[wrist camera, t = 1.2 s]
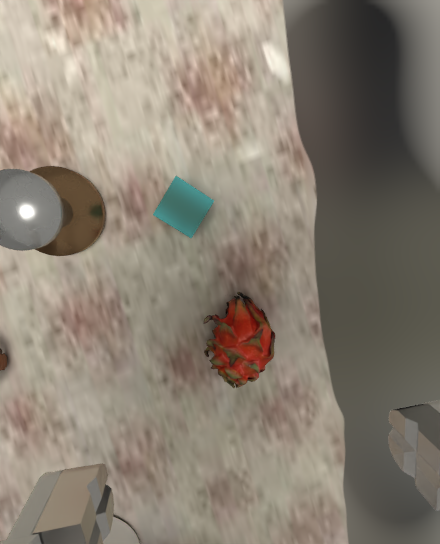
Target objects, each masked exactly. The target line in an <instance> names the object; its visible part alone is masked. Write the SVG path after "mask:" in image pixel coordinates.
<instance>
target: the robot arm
mask: <svg viewBox="0 0 440 544" xmlns="http://www.w3.org/2000/svg"><path fill="white" fill-rule="evenodd" d="M389 422H390V424H391V425H392V426H393V429H392V430H391V432H390V434H389V435H388V436H389V447H390V450H391V453H392V456H393V458H394V459H395V461H396V463H397V464H398V466H399V467H400V468H401V469H402V470H403V472H405V473H407V474H408V475H410V476H412V477H414V478H415V483H416V488H417V489H418V490H419V491H420V492H421V494H422V495H423V496H424V497H425V498H426V500H427V501H428V502H429V503H430V504H431V506H432V507H433V508H434V509H435V510H436V511H439V510H440V400H437V401H432V402H427V403H424V404H418V405H413V406H408V407H403V408H398V409H393V410H391V412H390V414H389ZM107 477H108V473H107V469H106V466H105V464H96V465H90V466H83V467H77V468H71V469H65V470H62V471H55V472H48V473H45V474H43V475H42V476H41V477H40V478H39V480H38V482H37V484H36V485H35V487H34V489H33V491H32V493H31V495H30V497H29V499H28V500H27V502H26V504H25V506H24V508H23V510H22V512H21V513H20V515H19V517H18V519H17V521H16V523H15V525H14V526H13V528H12V530H11V532H10V534H9V536H8V538H7V539H6V540H4V541H0V544H140V543H139V540H138V537H137V535H136V534H135V532H134V531H133V530H132V528H131V527H130V526H129V525H127V524H126V523H125V522H123V521H122V520H120V519H118V518H115V517H113V511H114V501H113V493H112V489H111V488H110V487H109V486H108V485H106V481H107Z"/></svg>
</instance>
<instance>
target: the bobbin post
mask: <svg viewBox="0 0 440 544" xmlns="http://www.w3.org/2000/svg"><path fill="white" fill-rule="evenodd" d="M104 224H105V207H104V203H103V200H102V197H101V196H100V194H99V192H98V190H97V189H96V188H95V186H94V185H93V184H92V183H91V182H90V181H89V180H88V179H86V178H85V177H83V176H82V175H80V174H78V173H76V172H74V171H71V170H68V169H66V168H62V167H55V166H46V167H40V168H37V169H34V170H32V171H30V172H28V171H24V170H20V169H5V170H1V171H0V245H1V246H3V247H6V248H9V249H13V250H32V249H35V250H37V251H39V252H42V253H45V254H48V255H54V256H66V255H71V254H75V253H78V252H81V251H83V250H85V249H87V248H88V247H90V246H91V245H92V244H93V243H94V242H95V241H96V240H97V239H98V238H99V236H100V235H101V232H102V230H103V227H104Z"/></svg>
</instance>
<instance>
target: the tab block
mask: <svg viewBox="0 0 440 544" xmlns="http://www.w3.org/2000/svg"><path fill="white" fill-rule="evenodd" d="M213 202H214V200H212V199H211V198H209V197H208V196H206V195H205V194H203V193H202V192H200V191H199V190H197V189H196V188H194V187H192V186H191V185H189V184H188V183H186V182H185V181H183V180H182V179H180V178H179V177H177V176H176V177H175V178H174V180H173V182H172V183H171V185H170V187H169V188H168V190H167V192H166V193H165V195H164V197H163V199H162V200H161V202H160V204H159V205H158V207H157V209H156V210H155V212H154V214H153V215H154V216H156V217H157V218H159V219H161V220H162V221H164V222H165V223H167V224H169V225H170V226H172V227H174V228H175V229H177V230H178V231H180V232H182V233H183V234H185V235H187V236H188V237H190V238H192V237H193V235H194V233H195V232H196V230H197V228H198V227H199V225H200V223H201V222H202V220H203V219H204V217H205V215H206V214H207V212H208V210H209V209H210V207H211V205H212V204H213Z"/></svg>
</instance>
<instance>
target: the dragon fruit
mask: <svg viewBox="0 0 440 544" xmlns="http://www.w3.org/2000/svg"><path fill="white" fill-rule="evenodd" d="M237 294H238V295H240V296H241V297H242V298H243V300H244V302H245V304H243V302H242V301H241V300H240V297H239V296H237V295H236V296H234V297H235V298H236V299H232V300H231V301H229V302H227V306H228V307H227V309H226V314H227V312H228V315H227V317H226V318H224V319H220V318H219V317H218V316H217V315H215V316H214V315H212V316H211V315H209V316H207V317H206V318H205V319H204V324H205V323H207V322H208V321H209V320H214V322H215V323H216V324H217V325H218V327H216V328H215V329H214V330H212V332H213V334H214V337H215V338H216V339H210V340H207V343H206V344H207V346H208V347H207V348H206V350H205V351H204V353H205V355H206V356H207V357H209V355H208V351H209V350H210V351H212V352H213V353H214V355H215V356H214V357H213V358H212V359H211V360H210V362H211V363H212V364H213V365H212V367H211V369H218V374H219V375H220V376H222V378H223V379H224V381H225V382H227V383H229V384H230V385H231V386H232V387H233V388H235V386H234V383H235V385H236V388H237V387H240V386H242V385H244V384H246V382H247V381H251V382H253V381H255V380H257V378H258V377H259V373H260V372H263V371H264V370H265V365H266V364H267V363H268V362H269V361H271V360H272V358H273V357H274V339H275V333H274V332H273V331H272V329H271V327H270V324H269V322H268V320H267V317H266V316H265V313H264V311H263V310H262V309H261V311H260V310H259V309H258V308H257V307H256V306H255V304H254V303H253V301H252V300H251V299H250V298H249V297H247V296H245V295H244V296H243V294H242V293H240V292H237Z"/></svg>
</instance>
